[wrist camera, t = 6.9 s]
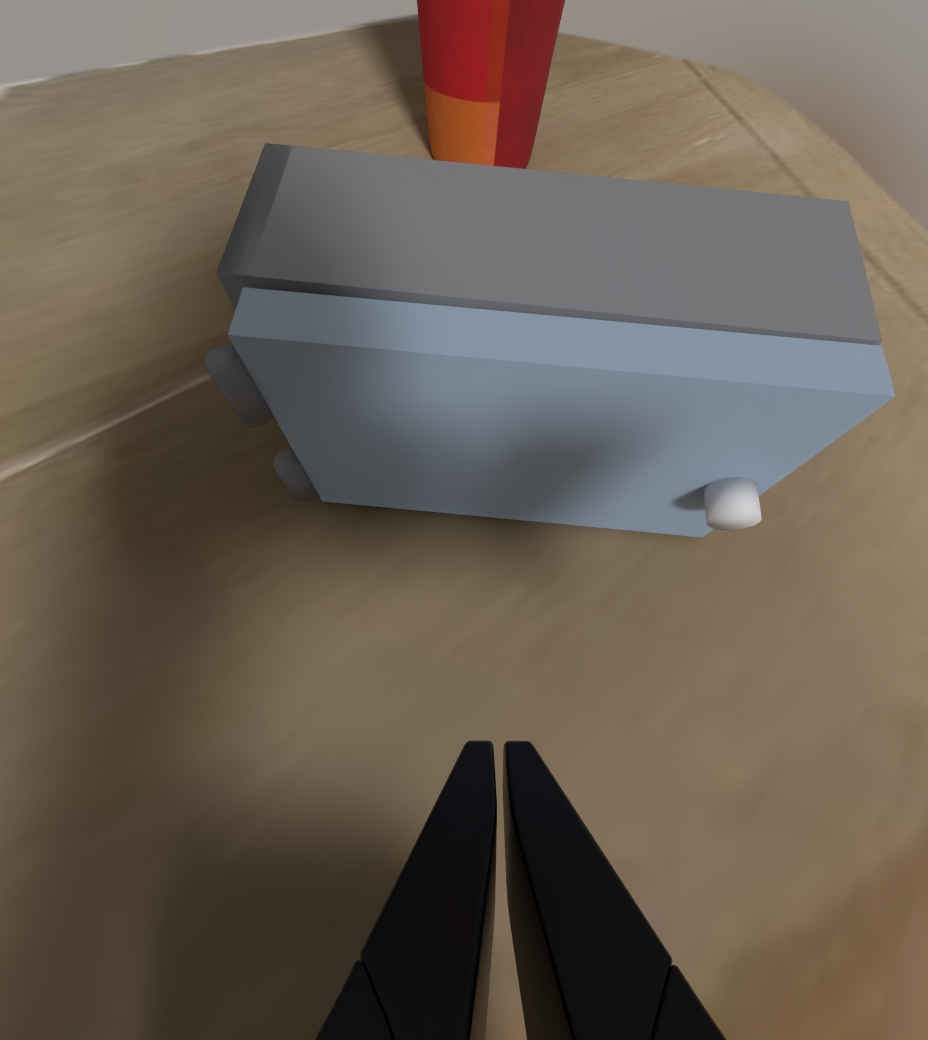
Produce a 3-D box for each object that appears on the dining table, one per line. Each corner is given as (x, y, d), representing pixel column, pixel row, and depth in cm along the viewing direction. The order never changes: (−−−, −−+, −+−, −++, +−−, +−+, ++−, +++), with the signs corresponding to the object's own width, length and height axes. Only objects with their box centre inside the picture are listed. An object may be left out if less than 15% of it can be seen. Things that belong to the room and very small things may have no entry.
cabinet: (695, 505, 23) (881, 340, 13) (315, 464, 23) (216, 272, 13) (689, 408, 24) (847, 201, 15) (337, 371, 25) (265, 142, 15)
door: (704, 564, 21) (906, 440, 12) (292, 525, 21) (171, 372, 12) (699, 504, 22) (882, 345, 13) (306, 467, 22) (203, 283, 13)
